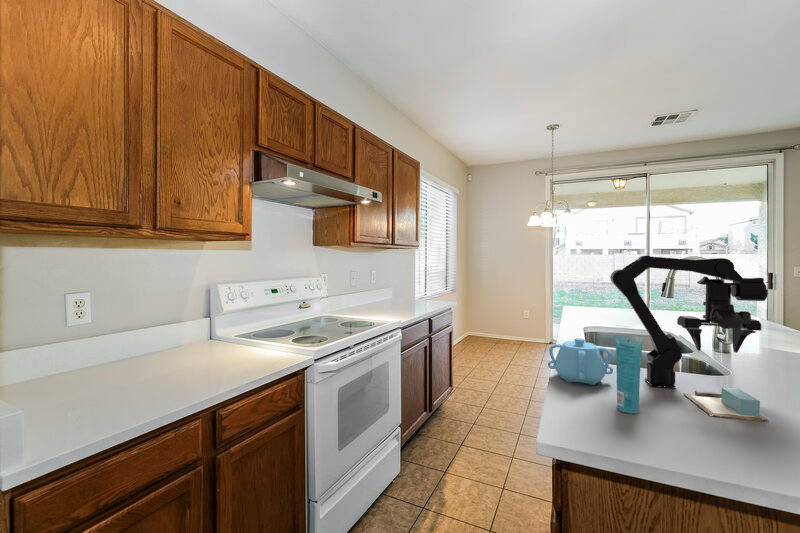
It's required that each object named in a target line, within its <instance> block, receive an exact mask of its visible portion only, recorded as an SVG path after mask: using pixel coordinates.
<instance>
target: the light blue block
mask: <svg viewBox="0 0 800 533" xmlns="http://www.w3.org/2000/svg"><path fill="white" fill-rule="evenodd" d="M721 394H722V395H721V402H722V403H724V404H725V405H727V406H728V407H730V408H731V409H732V410H734V411H735V412H737V413H738V414H740V415H748V416H759V417H760V415H761V411H760V410H761V401H760V399H757V398H756V397H755V396H753V395H750V393H748V392H745V391H743V390H742V389H740V388H735V387H733V388H732V387H721Z"/></svg>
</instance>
